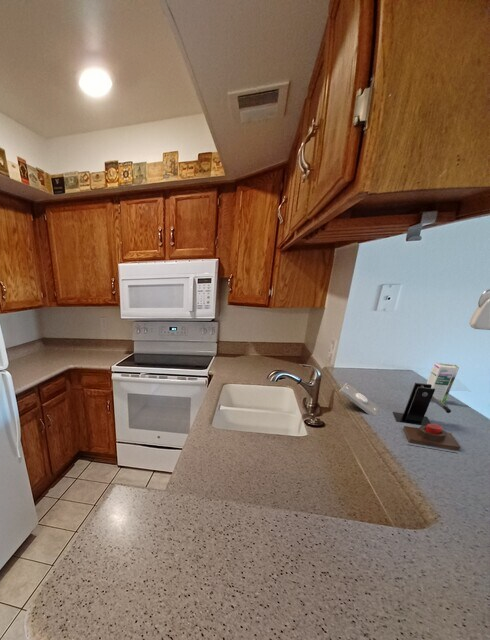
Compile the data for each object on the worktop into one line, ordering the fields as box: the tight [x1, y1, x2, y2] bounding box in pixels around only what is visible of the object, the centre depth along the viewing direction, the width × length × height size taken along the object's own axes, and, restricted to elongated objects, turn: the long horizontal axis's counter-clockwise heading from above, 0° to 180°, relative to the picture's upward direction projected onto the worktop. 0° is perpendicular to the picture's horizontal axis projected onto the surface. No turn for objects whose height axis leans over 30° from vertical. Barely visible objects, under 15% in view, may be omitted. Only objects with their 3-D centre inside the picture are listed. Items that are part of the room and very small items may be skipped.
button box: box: [402, 425, 461, 454], centre depth 97 cm, size 12×9×4 cm
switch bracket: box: [392, 382, 435, 426], centre depth 107 cm, size 10×8×13 cm
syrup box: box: [426, 362, 460, 404], centre depth 122 cm, size 6×6×14 cm
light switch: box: [339, 382, 381, 417], centre depth 118 cm, size 8×6×14 cm
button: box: [425, 423, 443, 434], centre depth 96 cm, size 4×4×2 cm
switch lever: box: [415, 385, 452, 414], centre depth 105 cm, size 11×5×2 cm
